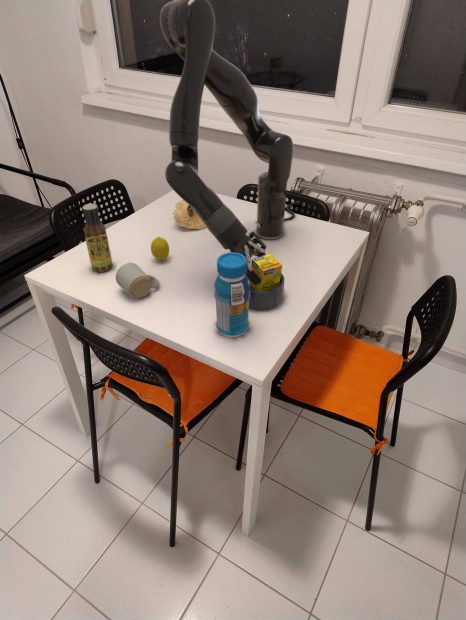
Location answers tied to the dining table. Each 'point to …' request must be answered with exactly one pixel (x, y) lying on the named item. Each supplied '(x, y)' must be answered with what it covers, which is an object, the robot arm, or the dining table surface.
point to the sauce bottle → (96, 239)
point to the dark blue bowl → (266, 297)
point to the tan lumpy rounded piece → (187, 216)
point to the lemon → (159, 248)
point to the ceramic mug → (135, 280)
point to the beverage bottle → (232, 294)
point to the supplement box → (266, 273)
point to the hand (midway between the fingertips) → (264, 274)
